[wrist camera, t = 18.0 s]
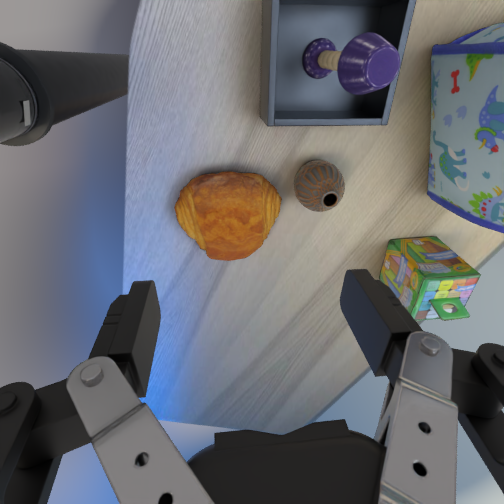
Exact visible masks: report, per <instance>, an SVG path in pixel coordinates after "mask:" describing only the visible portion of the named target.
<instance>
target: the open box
mask: <svg viewBox="0 0 504 504" xmlns="http://www.w3.org/2000/svg"><path fill="white" fill-rule="evenodd" d="M415 4H416V0H262V29H261V74H260V118H261V119H262V120H263V121H264V122H265V124H266V125H267V126H351V125H387V123H388V119H389V114H390V110H391V106H392V102H393V97H394V93H395V89H396V85H397V80H398V76H399V72H400V68H401V63H402V59H403V55H404V51H405V46H406V42H407V38H408V34H409V29H410V25H411V21H412V16H413V12H414V8H415ZM367 32H370V33H376V34H378V35H380V36H382V37H383V38H385V39H386V40H387V41H388V42H389V43H391V44H392V45H393V46H394V47H395V48H396V49H397V51H398V52H399V55H400V68H399V71H398V73H397V75H396V77H395V78H394V80H393V81H392V82H391V83H390V84H389V85H387V86H386V87H384V88H382V89H379V90H376V91H373V92H370V93H367V94H362V95H355V94H351V93H349V92H347V91H346V90H345V89H344V88H343V87H342V86H341V84H340V82H339V79H338V75H337V71H332V72H331V73H330V74H329V75H328V76H326V77H324V78H321V79H315V78H312V77H310V76H309V75H308V74H307V73H306V71H305V70H304V66H303V55H304V52H305V50H306V48H307V46H308V45H309V44H310V43H311V42H312V41H313V40H315V39H318V38H327V39H329V40H330V41H332V43H333V44H334V45H335V47H336V50H337V51H342V50H343V49H344V47H345V46H346V45H347V43H348V42H349V41H351V40H352V39H353V38H354V37H356V36H358V35H360V34H363V33H367Z"/></svg>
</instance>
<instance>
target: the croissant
mask: <svg viewBox="0 0 504 504" xmlns="http://www.w3.org/2000/svg"><path fill="white" fill-rule="evenodd" d="M179 196H180V197H179V199H178V201H177V202H176V204H175V207H174V208H175V212H176V216H177V220H178V222H179V224H180V226H181V227H182V229H183V230H184V231H185V232H186V233H187V235H188V236H189V237H191V238H192V239H195V240H196V242H197V243H198V245H199V246H200V249H204V250H206V254H207V256H208V257H209V258H211V259H216V260H227V261H230V260H236V259H242V258H246V257H248V256H249V255H251V254H252V253H253V252H255V251H256V250H257V249H258V248H260V247H261V245H262V244H263V241H264V240H265V239H266V238H267V234H269V231H270V228H271V227H272V226H273V224H274V222H275V219H276V218H277V217H278V215H279V212H280V205H281V200H282V198H281V197H280V196H279V194H278V192H277V189H276V188H275V187H274V186H273V185H272V184H271V183H270V182H269V181H267V179H265V178H264V177H263V176H262V175H258V174H255V173H236V172H231V171H230V172H220V173H218V174H214V173H211V174H204V175H201V176H199V177H196V178H194V179H192V180H191V181H190V182H189V183H188V184H187V186H185V187H184V188H183V189H182V190H181V191H180V195H179Z"/></svg>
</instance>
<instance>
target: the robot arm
mask: <svg viewBox="0 0 504 504" xmlns="http://www.w3.org/2000/svg"><path fill="white" fill-rule="evenodd" d="M38 117H39V103H38V99H37V96H36V93H35V91H34V89H33V87H32V85H31V84H30V82H29V81H28V79H27V78H26V77H25V75H24V74H23V73H22V72H21V71H20V70H19V69H18V68H17V67H15V66H14V65H13V64H12V63H10V62H9V61H7V60H6V59H4V58H2V57H0V142H3V141H6V140H8V139H11V138H13V137H18V136H21V135H23V134H26V133H27V132H29V131H30V130H31V129H32V128H33V127H34V126H35V124H36V123H37V120H38ZM340 306H341V310H342V312H343V314H344V316H345V318H346V320H347V322H348V324H349V326H350V328H351V330H352V332H353V334H354V336H355V338H356V340H357V342H358V344H359V346H360V348H361V350H362V352H363V353H364V355H365V357H366V359H367V361H368V363H369V365H370V367H371V369H372V371H373V373H374V375H375V377H376V376H387V377H388V379H389V384H388V386H387V390H386V394H385V398H384V402H383V407H382V411H381V415H380V419H379V423H378V427H377V430H376V433H375V436H374V439H372V438H370V437H368V436H366V435H364V434H362V433H359V432H355V431H352V430H349V429H348V427H347V424H346V421H345V419H342V420H334V421H323V422H314V423H311V424H309V425H307V426H304V427H302V428H299V429H297V430H295V431H292V432H290V433H287V434H285V435H277V434H271V433H265V432H259V431H253V430H239V431H229V432H220V433H215V444H213V445H210V446H208V447H206V448H204V449H202V450H201V451H199V452H198V453H196V454H195V455H194V456H192V457H191V458H190V459H189V460H188V461H187V462H186V461H185V459H184V458H183V457H182V455H181V454H180V452H179V451H178V449H177V448H176V446H175V445H174V443H173V442H172V440H171V439H170V437H169V436H168V434H167V433H166V431H165V430H164V428H163V427H162V426H161V424H160V423H159V421H158V420H157V418H156V417H155V415H154V414H153V412H152V411H151V409H150V408H149V407H148V405H147V404H146V403H142V402H141V401H140V399H139V398H141V397H146V392H147V387H148V382H149V377H150V372H151V367H152V362H153V357H154V352H155V347H156V342H157V337H158V332H159V327H160V319H161V314H160V306H159V301H158V297H157V292H156V287H155V283H154V281H153V280H149V281H134V282H133V283H132V286H131V289H130V292H129V294H128V295H120V296H119V297H118V298H117V299H116V300H115V301H114V302H113V303H112V304H111V305H110V308H109V310H108V312H107V316H106V317H105V320H104V322H103V326H102V327H101V329H100V331H99V334H98V336H97V339H96V341H95V343H94V346H93V348H92V351H91V353H90V356H89V358H88V359H87V360H85V361H84V362H82V363H80V364H79V365H78V366H76V367H75V368H74V369H73V370H72V372H71V373H70V375H69V376H68V378H66V379H64V380H62V381H60V382H57V383H54V384H51V385H48V386H45V387H42V388H39V389H36V390H35V389H34V388H33V386H32V385H30V384H29V383H26V382H16V383H11V384H8V385H6V386H3V387H1V388H0V504H47V502H48V499H49V496H50V493H51V490H52V486H53V483H54V480H55V477H56V474H57V471H58V468H59V465H60V461H61V458H62V456H63V454H65V453H67V452H69V451H71V450H74V449H76V448H79V447H81V446H83V445H86V444H88V443H92V445H93V448H94V450H95V452H96V454H97V456H98V458H99V460H100V463H101V465H102V467H103V469H104V471H105V473H106V475H107V478H108V480H109V482H110V484H111V486H112V488H113V490H114V493H115V495H116V497H117V499H118V501H119V503H120V504H456V470H457V430H458V421H459V422H460V424H461V426H462V427H463V429H464V430H465V432H466V434H467V435H468V437H469V438H470V440H471V442H472V443H473V445H474V447H475V448H476V450H477V451H478V453H479V454H480V456H481V458H482V460H483V461H484V463H485V464H486V466H487V468H488V469H489V471H490V472H491V474H492V476H493V477H494V479H495V481H496V482H497V484H498V485H499V487H500V489H501V490H502V492H503V494H504V413H503V412H502V410H501V409H502V408H503V407H504V346H501V345H498V344H493V343H485V344H482V345H481V346H480V347H479V348H478V350H477V351H476V353H474V352H469V351H464V350H458V349H453V348H450V346H449V345H448V344H447V343H446V342H445V341H444V340H443V339H441V338H440V337H438V336H436V335H434V334H432V333H429V332H425V331H423V330H422V329H421V327H420V326H419V325H418V323H417V322H416V321H415V320H414V318H413V317H412V316H411V314H410V313H409V312H408V310H407V309H406V308H405V307H404V305H402V303H401V301H400V300H399V299H398V298H396V295H395V294H394V292H393V291H392V290H391V288H390V287H388V286H387V285H386V284H384V283H383V282H381V281H380V280H374V278H373V277H372V276H371V274H370V273H369V271H368V270H367V269H352V270H347V271H346V274H345V278H344V282H343V287H342V292H341V296H340Z"/></svg>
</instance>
